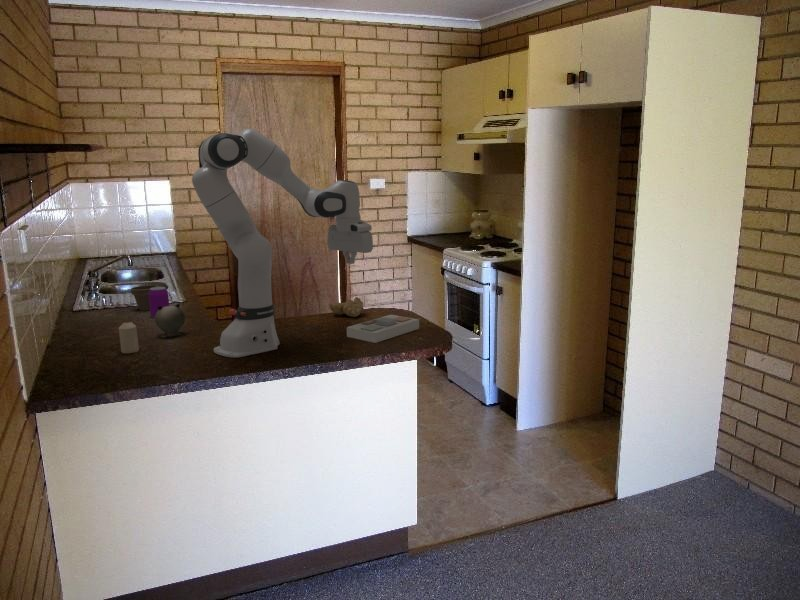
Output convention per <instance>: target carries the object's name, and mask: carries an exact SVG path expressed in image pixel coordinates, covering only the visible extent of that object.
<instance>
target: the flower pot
mask: <svg viewBox="0 0 800 600" xmlns="http://www.w3.org/2000/svg"><path fill="white" fill-rule="evenodd" d="M152 287H159V285H156V284H146V285H137V286H134V287H131V288H130V293H131V295H133V296H134V300H135V302H136V305H137V307H138V309H139V311H141V312H147V311H150V304H149V295H148V294H149V290H150V288H152Z"/></svg>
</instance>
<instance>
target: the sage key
mask: <svg viewBox="0 0 800 600" xmlns="http://www.w3.org/2000/svg"><path fill="white" fill-rule="evenodd" d="M379 329H382V328H381V327H378V326H372V325H370V326H367V327H364V328H362V330H366V331H371V332H373V331H376V330H379Z"/></svg>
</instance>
